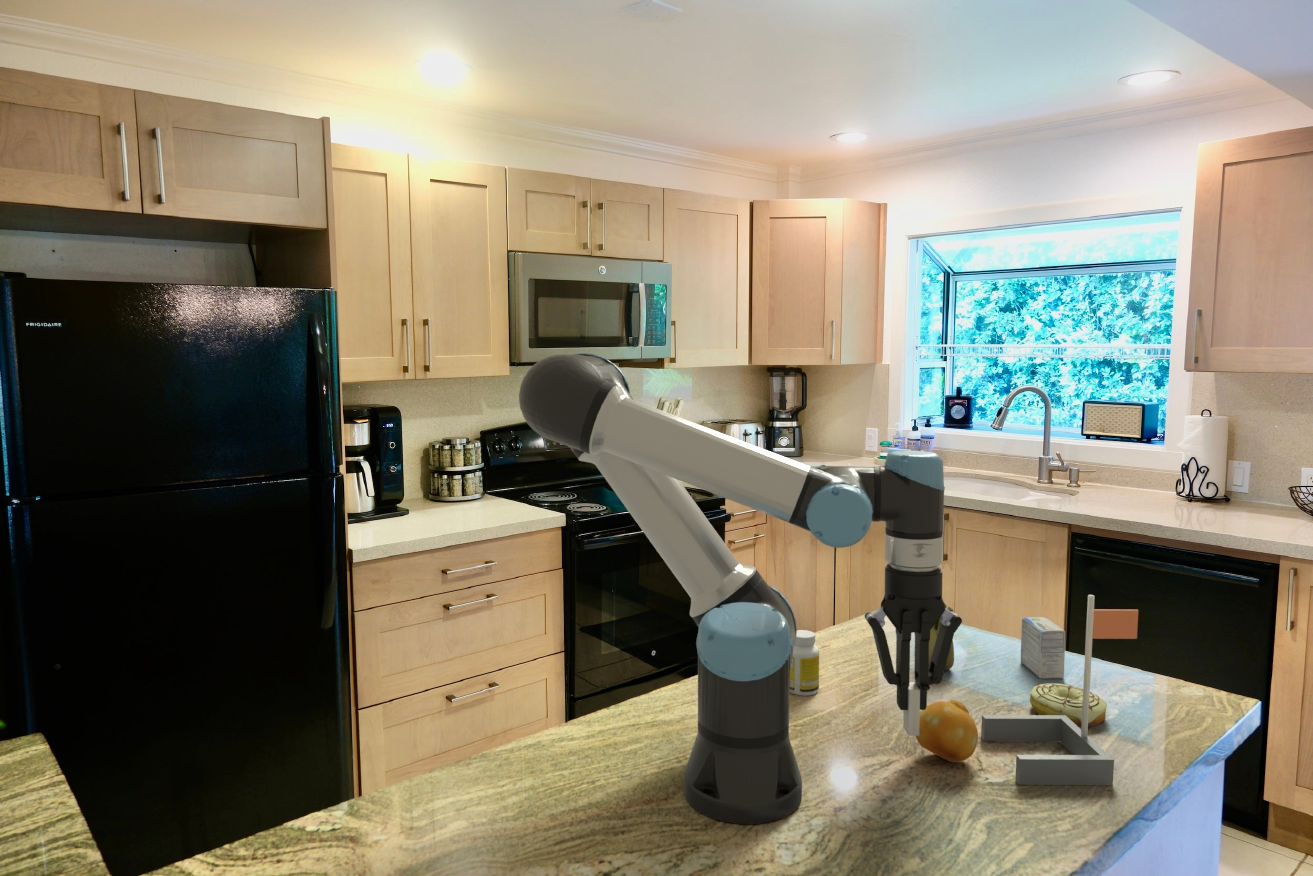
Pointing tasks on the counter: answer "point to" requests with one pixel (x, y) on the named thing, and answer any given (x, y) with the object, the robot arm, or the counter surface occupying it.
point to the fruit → (948, 731)
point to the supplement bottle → (804, 665)
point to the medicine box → (1043, 647)
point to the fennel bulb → (933, 639)
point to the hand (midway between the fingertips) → (911, 731)
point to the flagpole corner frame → (1065, 721)
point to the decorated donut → (1066, 702)
